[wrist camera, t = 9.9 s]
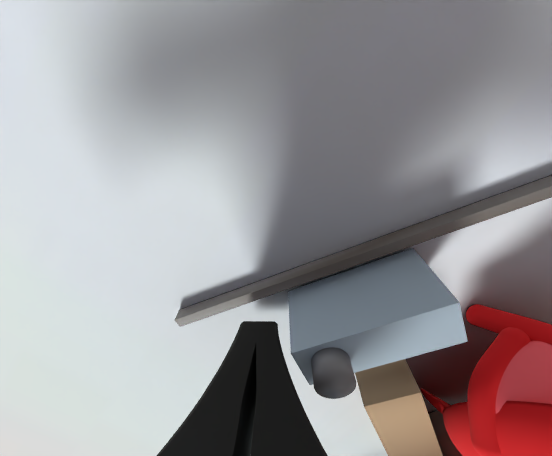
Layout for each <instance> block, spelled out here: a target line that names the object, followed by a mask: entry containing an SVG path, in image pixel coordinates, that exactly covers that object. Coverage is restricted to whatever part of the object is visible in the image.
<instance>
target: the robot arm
mask: <svg viewBox="0 0 552 456" xmlns="http://www.w3.org/2000/svg"><path fill="white" fill-rule="evenodd" d="M250 454H251V455H250ZM157 456H327V454H326V452H325V450H324V449H323V447H322V445H321V443H320V441H319V439H318V437H317V435H316V433H315V431H314V429H313V427H312V425H311V423H310V421H309V419H308V417H307V415H306V413H305V411H304V408H303V406H302V404H301V402H300V399H299V397H298V395H297V392H296V390H295V387H294V385H293V382H292V379H291V377H290V374H289V371H288V368H287V365H286V362H285V359H284V356H283V352H282V348H281V344H280V340H279V335H278V324H277V323H276V322H252V321H244V322H242V323H241V325H240V328H239V330H238V333H237V335H236V337H235V339H234V341H233V343H232V345H231V347H230V349H229V351H228V353H227V355H226V357H225V359H224V361H223V362H222V364H221V366H220V368H219V370H218V371H217V373H216V375H215V376H214V378H213V379H212V381H211V383H210V384H209V386H208V387H207V389H206V391H205V392H204V394H203V395H202V397H201V398H200V400H199V401H198V403H197V404H196V405H195V407H194V408H193V410H192V411H191V413H190V414H189V415H188V417H187V418H186V419H185V421H184V422H183V423H182V425H181V426H180V427H179V429H178V430H177V431H176V432H175V434H174V435H173V436H172V437H171V439H170V440H169V441H168V443H167V444H166V445H165V446H164V447H163V449H162V450H161V451H160V452H159V454H158V455H157Z"/></svg>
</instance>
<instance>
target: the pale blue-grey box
mask: <svg viewBox="0 0 552 456" xmlns="http://www.w3.org/2000/svg"><path fill="white" fill-rule="evenodd" d="M288 295H289V320H290V344H291V354H292V356H293V358H294V359H295V361H296V363H297V365H298V366H299V368H300V370H301V371H302V373H303V375H304V376H305V378H306V380H307V381H308V383H309V385H312V384H314V389H315V391H316V392H317V393H318V394H319V395H321V396H323V397H325V398H331V399H336V398H342V397H345V396H347V395H349V394H350V393H352V392H353V391H354V389H355V387H356V380H355V376H354V373H356V372H359V371H363V370H367V369H370V368H374V367H377V366H381V365H385V364H388V363H392V362H396V361H399V360H403V359H406V358H410V357H414V356H417V355H421V354H424V353H428V352H432V351H435V350H439V349H443V348H446V347H450V346H453V345H457V344H461V343H464V342H468V340H467V336H466V331H465V326H464V322H463V317H462V312H461V308H460V303H459V301H458V300H457V299H456V298H455V297H454V296H453V294H452V293H451V292H450V291H449V290H448V288H447V287H446V286H445V285H444V284H443V283H442V281H441V280H440V279H439V278H438V277H437V276H436V274H435V273H434V272H433V271H432V270H431V268H430V267H429V266H428V265H427V264H426V263H425V261H424V260H423V259H422V258H421V257H420V256H419V254H418V253H417V252H416V251H415V250H414V248H412V249H409V250H406V251H403V252H401V253H398V254H395V255H392V256H389V257H386V258H383V259H380V260H377V261H375V262H372V263H369V264H366V265H363V266H360V267H357V268H354V269H352V270H349V271H346V272H343V273H340V274H337V275H334V276H331V277H328V278H326V279H323V280H320V281H317V282H314V283H311V284H308V285H305V286H303V287H300V288H297V289H294V290H291V291H288Z"/></svg>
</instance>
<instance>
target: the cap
mask: <svg viewBox="0 0 552 456" xmlns="http://www.w3.org/2000/svg"><path fill="white" fill-rule="evenodd" d="M466 318H467V321H468V322H469V323H470V324H472V325H475V326H478V327H480V328H483V329H486V330H489V331H492V332H495V333H498V336H497V337H496V338H495V340H494V341H493V342H492V344H491V345H490V346H489V348H488V349H487V350H486V351H485V353H484V354H483V355H482V357H481V358H480V360H479V361H478V363H477V364H476V366H475V368H474V370H473V372H472V374H471V377H470V380H469V385H468V393H467V402H462V403H457V404H453V405H450V404H448V403H446V402H445V401H443V400H441V399H440V398H438V397H436V396H435V395H433V394H431V393H429V392H428V391H426V390H424V389H422V388H420V390H421V392H422V394H423V395H424V397H425V398H426V399H427V400H428V401H429V402H430V403H431V404H432V405H433V406H434V407H435V408H436V409H437V410H438V411H439V412H441V413H442V414H443V421H444V425H445V428H446V431H447V433H448V435H449V437H450V439H451V441H452V442H453V444H454V445H455V447H456V448H457V449H458V451H459V452H460V453H461V454H462V456H552V325H551V324H548V323H545V322H541V321H538V320H535V319H531V318H528V317H524V316H520V315H516V314H513V313H509V312H505V311H501V310H498V309H494V308H490V307H486V306H483V305H479V304H475V305H472V306H470V307H469V308H468V310H467V312H466Z"/></svg>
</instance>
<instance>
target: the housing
mask: <svg viewBox="0 0 552 456" xmlns="http://www.w3.org/2000/svg"><path fill="white" fill-rule="evenodd" d="M551 197H552V175H551V176H548V177H545V178H542V179H540V180H537V181H534V182H531V183H529V184H526V185H523V186H520V187H518V188H515V189H512V190H509V191H507V192H504V193H501V194H498V195H495V196H493V197H490V198H487V199H484V200H482V201H479V202H476V203H473V204H471V205H468V206H465V207H462V208H460V209H457V210H454V211H451V212H449V213H446V214H443V215H440V216H437V217H435V218H432V219H429V220H426V221H424V222H421V223H418V224H415V225H413V226H410V227H407V228H404V229H402V230H399V231H396V232H393V233H390V234H388V235H385V236H382V237H379V238H377V239H374V240H371V241H368V242H366V243H363V244H360V245H357V246H355V247H352V248H349V249H346V250H344V251H341V252H338V253H335V254H332V255H330V256H327V257H324V258H321V259H319V260H316V261H313V262H310V263H308V264H305V265H302V266H299V267H297V268H294V269H291V270H288V271H285V272H283V273H280V274H277V275H274V276H272V277H269V278H266V279H263V280H261V281H258V282H255V283H252V284H250V285H247V286H244V287H241V288H239V289H236V290H233V291H230V292H227V293H225V294H222V295H219V296H216V297H214V298H211V299H208V300H205V301H203V302H200V303H197V304H194V305H192V306H189V307H186V308H183V309H180V310H179V312H178V314H177V316H176V318H175V321H176V322H177V324H178V325H179V326H180V327H181V326H184V325H187V324H189V323H192V322H195V321H198V320H201V319H204V318H207V317H209V316H212V315H215V314H218V313H221V312H224V311H227V310H230V309H232V308H235V307H238V306H241V305H244V304H247V303H250V302H253V301H255V300H258V299H261V298H264V297H267V296H270V295H273V294H275V293H278V292H281V291H284V290H287V289H290V288H293V287H296V286H298V285H301V284H304V283H307V282H310V281H313V280H316V279H318V278H321V277H324V276H327V275H330V274H333V273H336V272H339V271H341V270H344V269H347V268H350V267H353V266H356V265H359V264H361V263H364V262H367V261H370V260H373V259H376V258H379V257H382V256H384V255H387V254H390V253H393V252H396V251H399V250H402V249H405V248H407V247H410V246H413V245H416V244H419V243H422V242H425V241H427V240H430V239H433V238H436V237H439V236H442V235H445V234H448V233H450V232H453V231H456V230H459V229H462V228H465V227H468V226H470V225H473V224H476V223H479V222H482V221H485V220H488V219H491V218H493V217H496V216H499V215H502V214H505V213H508V212H511V211H513V210H516V209H519V208H522V207H525V206H528V205H531V204H534V203H536V202H539V201H542V200H545V199H548V198H551ZM355 374H356V378H357V382H358V385H359V389H360V393H361V397H362V400H363V404H364V407H365V409H366V411H367V413H368V415H369V417H370V420H371V422H372V424H373V426H374V428H375V430H376V432H377V434H378V436H379V438H380V440H381V442H382V444H383V446H384V448H385V450H386V452H387V454H388V456H462V454H461V453H460V452H459V451H458V449H457V448H456V447H455V445H454V444H453V442H452V441H451V439H450V437H449V435H448V433H447V431H446V428H445V425H444V421H443V414H442V413H441V412H439V411H434V412H431V413H430V414H428V411H427V409H426V406H425V403H424V400H423V397H422V394H421V392H420V389H419V387H418V385H417V383H416V381H415V379H414V377H413V374H412V372H411V370H410V368H409V366H408V364H407V362H406V359H403V360H399V361H396V362H392V363H388V364H385V365H381V366H377V367H374V368H370V369H367V370H363V371H359V372H356V373H355Z"/></svg>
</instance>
